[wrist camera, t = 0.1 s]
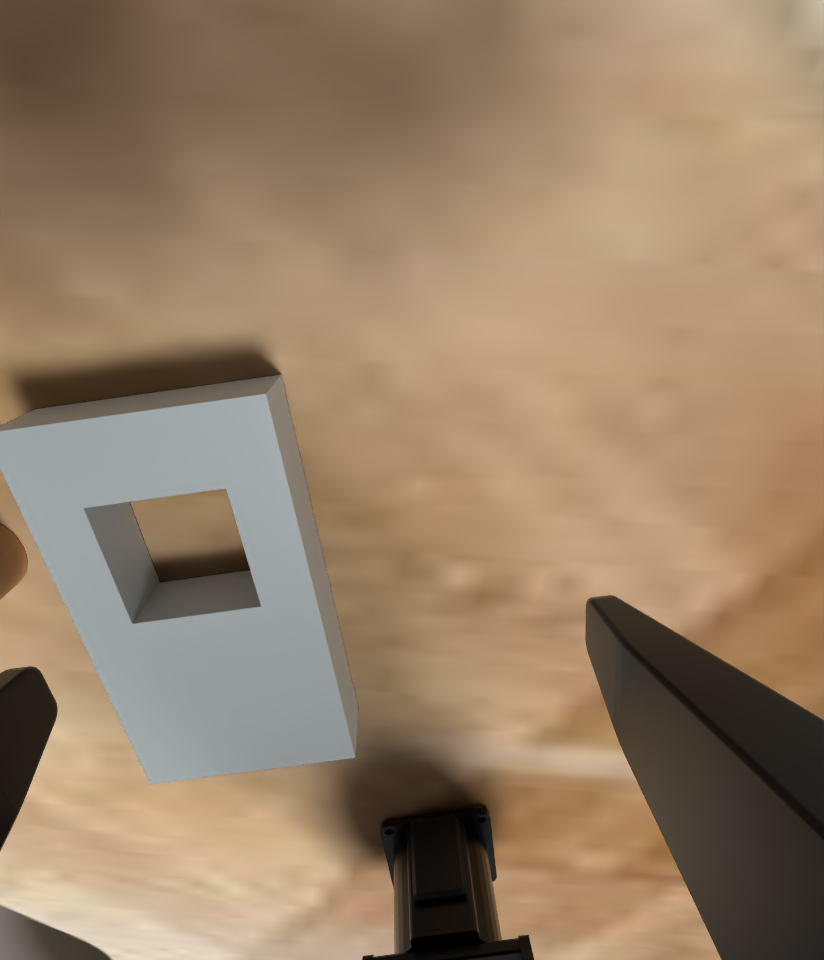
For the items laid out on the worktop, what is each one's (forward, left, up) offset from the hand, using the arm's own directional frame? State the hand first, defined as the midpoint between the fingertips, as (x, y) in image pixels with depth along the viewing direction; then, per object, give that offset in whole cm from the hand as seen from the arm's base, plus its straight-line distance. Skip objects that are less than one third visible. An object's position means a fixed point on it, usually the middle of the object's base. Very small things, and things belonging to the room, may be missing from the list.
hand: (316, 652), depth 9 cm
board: (-7, +8, -15) cm, 18 cm away
